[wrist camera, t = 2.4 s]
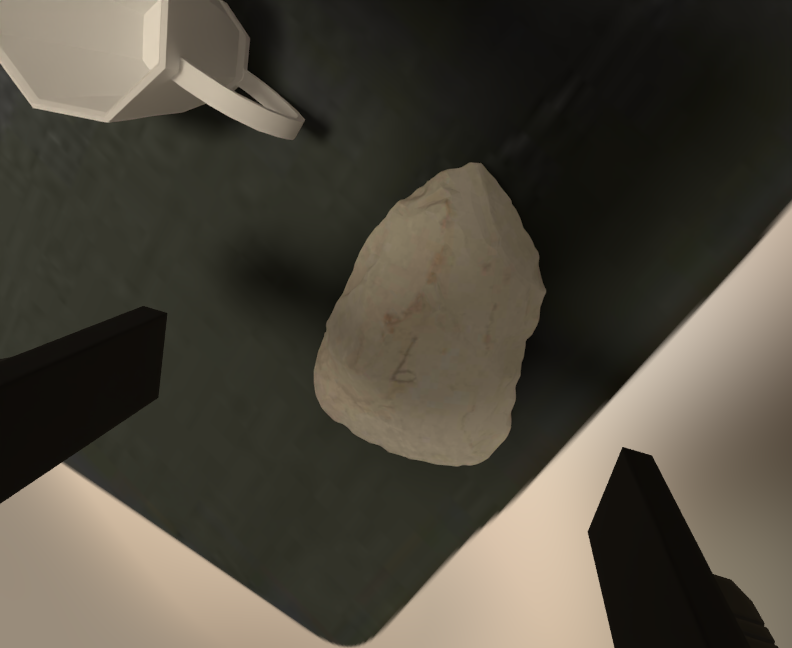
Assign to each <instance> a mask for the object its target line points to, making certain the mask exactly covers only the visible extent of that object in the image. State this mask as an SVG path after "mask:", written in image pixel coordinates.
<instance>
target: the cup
mask: <svg viewBox="0 0 792 648" xmlns="http://www.w3.org/2000/svg"><path fill="white" fill-rule="evenodd" d="M249 45H250V37H249V36H248V34H247V33H246V31H245V30H244V28H243V27H242V25H241V24H240V22H239V21H238V19H237V18H236V16H235V15H234V13H233V12H232V10H231V9H230V7H229V6H228V4H227V3H226V2H224V1H222V0H0V64H1V65H2V66H3V68H4V69H5V71H6V72H7V73H8V75H9V76H10V77H11V79H12V80H13V81H14V83H15V84H16V85H17V87H18V88H19V90H20V91H21V92H22V94H23V95H24V96H25V98H26V99H27V100H28V102H29V103H30V104H31V106H32V107H33V108H37V109H42V110H47V111H52V112H57V113H62V114H67V115H72V116H77V117H82V118H87V119H92V120H97V121H102V122H107V123H109V122H117V121H125V120H132V119H138V118H144V117H150V116H158V115H166V114H175V113H183V112H185V111H188V110H191V109H193V108H196V107H199V106H201V105H204V104H208V105H210V106H211V107H213V108H215V109H216V110H218V111H220V112H222V113H223V114H225V115H227V116H228V117H230V118H232V119H234V120H237V121H239V122H241V123H243V124H245V125H247V126H249V127H251V128H253V129H256V130H258V131H260V132H264V133H267V134H270V135H273V136H276V137H279V138H283V139H289V140H294V139H295V137H296V136H297V134H298V132H299V130H300V129H301V127H302V125H303V123H304V121H305V119H304V118H303V117H302V116H301V114H300V113H299V112H298V111H297V110H296V109H295V108H294V107H293V106H291V105H290V104H289V103H288V102H287V101H286V100H285V99H284V98H282V97H281V96H280V95H279V94H278V93H277V92H276V91H274V90H273V89H272V88H271V87H269V86H268V85H267V84H266V83H264V82H263V81H262V80H261V79H259V78H258V77H256V76H255V75H253V74H252V73H251V72H249V71H248V70H247V68H248V56H249ZM238 87H240V88H241V89H243V90H244V91H245V92H247V93H248V94H250V95H251V96H252V97H253V98H254V99H256V100H257V101H258V102H259V103H260V104H262V105H263V106H262V105H260V104H258V103H256V102H254V101H252V100H250V99H248V98H246V97H244V96H242V95H240V94H238V93H237V92H235V90H236V89H237V88H238Z"/></svg>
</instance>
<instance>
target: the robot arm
mask: <svg viewBox="0 0 792 648" xmlns="http://www.w3.org/2000/svg"><path fill="white" fill-rule="evenodd" d="M166 320H167V313H165V312H162V311H158V310H155V309H151V308H148V307H145V306H142V307H139V308H137V309H134V310H132V311H129V312H127V313H124V314H121V315H119V316H116V317H114V318H111V319H109V320H106V321H103V322H101V323H98V324H96V325H93V326H91V327H88V328H85V329H83V330H80V331H78V332H75V333H73V334H70V335H68V336H65V337H62V338H60V339H57V340H55V341H52V342H50V343H47V344H44V345H42V346H39V347H37V348H34V349H32V350H29V351H26V352H24V353H21V354H19V355H16V356H14V357H10V358H4V359H0V503H2V502H3V501H5V500H6V499H8V498H9V497H11V496H12V495H14V494H15V493H17V492H18V491H20V490H21V489H23V488H24V487H26V486H27V485H29V484H30V483H32V482H33V481H35V480H36V479H38V478H39V477H41V476H42V475H44V474H45V473H47V472H48V471H50V470H51V469H53V468H54V467H55V466H57V465H59V464H60V463H62V462H63V461H64V460H66V459H67V458H69V457H70V456H72V455H73V454H75V453H76V452H78V451H79V450H81V449H82V448H84V447H85V446H87V445H88V444H90V443H91V442H93V441H94V440H96V439H97V438H99V437H100V436H102V435H103V434H105V433H106V432H108V431H109V430H111V429H112V428H114V427H115V426H117V425H118V424H120V423H121V422H123V421H124V420H126V419H127V418H129V417H130V416H132V415H133V414H135V413H136V412H137V411H139V410H140V409H142V408H143V407H145V406H146V405H148V404H149V403H151V402H152V401H154V400H155V399H157V398H158V395H159V386H160V376H161V367H162V358H163V348H164V339H165V330H166ZM588 535H589V539H590V544H591V548H592V552H593V557H594V561H595V565H596V569H597V574H598V578H599V582H600V587H601V591H602V596H603V599H604V604H605V609H606V613H607V617H608V621H609V626H610V630H611V634H612V639H613V643H614V648H778V646H776V645H774V643H775V641H774V639H773V637H772V636H771V634H770V632H769V630H768V629H767V628H766V627H764V622H763V620H762V619H761V616H760V615H759V613H758V611H757V609H756V608H755V606H754V604H753V602H752V601H751V600H750V599H749V598H748V597H747V596H746V595H745V594H744V593H743V592H742V591H741V589H740V588H738V586H736V584H735V583H734V582H733V581H732V580H730V579H727V578H724V577H721V576H717V575H714V574H712V572H711V570H710V568H709V566H708V564H707V562H706V560H705V558H704V556H703V554H702V552H701V550H700V548H699V546H698V544H697V542H696V540H695V538H694V536H693V535H692V533H691V531H690V529H689V527H688V525H687V523H686V521H685V519H684V517H683V516H682V513H681V511H680V509H679V507H678V505H677V503H676V502H675V500H674V498H673V496H672V494H671V492H670V490H669V488H668V486H667V484H666V482H665V480H664V478H663V477H662V474H661V472H660V470H659V468H658V466H657V465H656V463H655V461H654V459H653V457H652V456H651V455H648V454H645V453H641V452H638V451H634V450H631V449H627V448H624V447H622V450H621V452H620V455H619V457H618V460H617V462H616V465H615V467H614V469H613V472H612V474H611V477H610V479H609V481H608V484H607V486H606V489H605V491H604V494H603V496H602V498H601V501H600V503H599V506H598V508H597V511H596V513H595V515H594V518H593V520H592V523H591V525H590V528H589V530H588Z"/></svg>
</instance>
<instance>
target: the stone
mask: <svg viewBox="0 0 792 648" xmlns="http://www.w3.org/2000/svg"><path fill="white" fill-rule="evenodd" d="M538 263H539V253H538V251H537V249H536V248H535V247H534V244H533V241H532V240H531V238H530V236H529V234H528V233H527V232H526V231H525V229H524V228H523V225H522V222H521V219H520V217H519V215H518V212H517V210H516V209H515V207H514V206H513V205H512V201H511V199H510V198H509V196H508V195H507V194H506V193H505V192H504V191H503V189H502V188H501V187H500V185H499V184H498V182H497V181H496V179H495V178H494V177H493V176H492V175H491V174H490V173H489V172H488V171H487V169H486V168H485V167H484V166H483V165H482V164H481V163H471V162H470V163H468V164H467V165H465V166H463V167H461V168H456V169H448V170H445V171H441V172H440V173H438V174H437V175H436V176H435V177H434V178H432V179H431V180H430V181H427V183H426V184H425V185H424V186H423V187H420V188H418V189H417V190H416V191H415V192H414V193H413V194H412V195H411V196H409V197H408V198H406V199H403V200H399V202H397V203H396V205H395V206H394V207H393V208H392V209H391V210H390V211H389V213H388V214H387V216H386V218H385V219H383V220H382V221H381V223H380V224H379V225H378V226H377V227H376V228H375V229H374V230H373V232H372V233H371V234H370V236H369V237H368V239H367V240H366V242H365V244H364V246H363V248H362V249H361V251H360V253H359V256H358V258H357V260H356V262H355V264H354V270H353V272H352V274H351V276H350V277H349V280H348V282H347V285H346V287H345V289H344V292H343V294H342V295H341V297H340V298H339V300H338V301H337V302H336V305H335V307H334V310H333V312H332V314H331V316H330V318H329V319H328V321H327V324H326V328H327V331H326V333H324V338H323V341H322V343H321V347H320V348H319V351H318V354H317V359H316V364H315V368H314V386H315V393H316V397H317V399H318V401H319V403H320V406H321V407H322V409H323V410H324V411H325V412H326V413H327V414H328V415H329V416H330V417H331V418H332V419H333V420H334V421H336V422H339V423H342V424H344V425H345V426H347V427H348V428H349V429H350V430H351V432H352V433H354V434H355V435H357V436H358V437H360V438H362V439H364V440H366V441H367V442H369V443H373V444H377V445H380V446H382V447H383V448H384V449H386V450H387V451H388V452H390V453H394V454H398V455H401V456H404V457H407V458H409V459H415V460H420V461H426V462H429V463H433V464H438V465H450V466H460V465H475V464H478V463H481V462H483V461H484V460H486V459H488V458H489V457H490V456H491V454H492V453H493V452H494V451H495V450H496V449H497V448H498V446H499V445H500V444H501V443H502V442H503V441H504V440H505V439H506V437H507V436H508V434H509V431H510V429H511V411H512V408H513V406H514V404H515V401H516V390H515V387H516V384H517V382H518V379H519V378H520V376H521V373H520V372H521V363H522V360H523V358H524V351H525V346H526V344H525V343H526V340H527V339H528V338H529V337H530V336H531V335H532V334H533V332H534V329H535V328H536V327H537V324H538V321H539V317H540V306H541V304H542V301H543V298H544V296H545V294H546V289H545V286H544V284H543V282H542V278H541V274H540V270H539V265H538Z"/></svg>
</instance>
